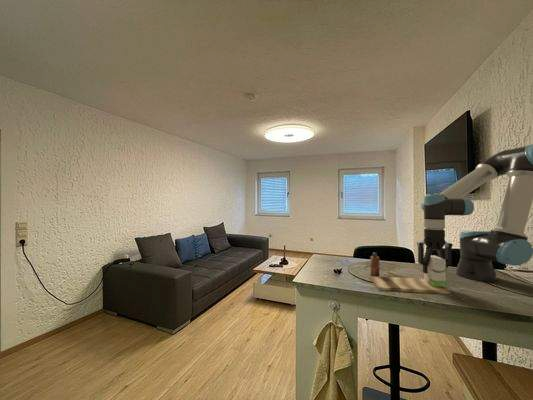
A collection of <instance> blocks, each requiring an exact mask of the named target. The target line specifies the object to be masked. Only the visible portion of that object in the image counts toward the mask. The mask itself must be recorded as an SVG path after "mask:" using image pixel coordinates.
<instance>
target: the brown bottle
mask: <svg viewBox="0 0 533 400" xmlns="http://www.w3.org/2000/svg"><path fill="white" fill-rule="evenodd" d="M370 276H376V277H380V257H379V256H378V254H377V252H372V255H370Z"/></svg>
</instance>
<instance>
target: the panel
mask: <svg viewBox="0 0 533 400" xmlns="http://www.w3.org/2000/svg"><path fill="white" fill-rule="evenodd" d="M368 279H369V281H370V282H372V284H373V286H375V288H376V289H377V290H378V291H390V292H392V291H393V292H409V293H410V292H413V293H427V294H428V293H429V294H446V295H447V294H448V295H451V290H450V289H448V288H446V287H440V286H433V285H431V284H430V283H428V282H427V281H425V280H424V278H418V277H417V278H415V277H413V278H412V277H394V276H393V277H392V276H379V277H376V276H371V275H369V276H368Z"/></svg>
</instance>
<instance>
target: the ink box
mask: <svg viewBox="0 0 533 400" xmlns="http://www.w3.org/2000/svg"><path fill="white" fill-rule="evenodd" d="M424 256H425V254H424ZM428 266H429V267H430V282H429V281H427V280H425V273H424V272H423V279H424V280H425V281H427V282H428V283H430V284H431V285H433V286H440V287H445V288H446V287H447V268H446V260H444V259H442V258H440V257H438V255H435V254H434V255H432V254H431V257H430V260H429V264H428Z"/></svg>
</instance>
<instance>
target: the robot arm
mask: <svg viewBox="0 0 533 400" xmlns="http://www.w3.org/2000/svg"><path fill="white" fill-rule="evenodd" d="M504 175H506V176H507V177H509V179H508V183H507V186H506V190H505V193H504V198H503V201H502V204H501V209H500V212H499V215H498V219H497V224H496V226H495V228H491V229H490V230H489V231H487V230H486V231H485V230H482V231H481V230H479V231H478V230H476V231H474V230H469V231H468V230H467V231H466V230H465V231H464V230H463V231H461V232H460V234H459V254H460V255H459V256H460V257H459V262H458V263H457V267H456V268H455V274H456V275H457V276H459V277H462V278H466V279H469V280H475V281H478V282H479V281H480V282H496V281H497V278H498V276H497V274H496V271H495V268H494V265H493V264H492V261H493V262H497V263H500V264H504V265H509V266H514V267H516V266H521V265H524V264H526V263H528V262H529V261H530V260H531V259H532V257H533V245H532V243H530V241H528V239H529V237H528V236H527V235H526V233H525V230H526V226H527V222H528V219H529V215H530V211H531V208H532V204H533V144H528V145H525V146H519V147H515V148H510V149H505V150H502V151H499V152H497V153H495V154H493V155H492V156H490V157H488V158H487V159H485V160H483V161H482V162H480V163H479V164H477V165H476V166H475V169H474V170H472V171H471V172H469V173H468V174H466V175H465V176H463V177H461V178H460V179H459V180H458V181H456V182H454V183H453V184H452V185H450V186H449V187H447V188H446V189H444V190H442V191H441V192H440V193H439V194H437V193H436V194H435V193H433V194H425V195H424V197H423V198H424V199H423V200H422V201H421V205H420V206H421V207H420V208H421V209H422V211H423V227H424V229H423V236H424V238H423V240H422V241H417V242H416V244H417V250H418V251H417V263H418V264H419V265H421V266H422V273H423V274H424V273H425V280H427V281H429V282H430V267H429V266H428V264H429V260H430V257H431V255H432V253H433V252H434V251H436V253H437V257H440V258H442V259H444V260H446V269H447V268H449V267H451V266H452V265H453V264H452V248H453V246H454V245H453V244H452V243H451V242H447V241H446V239H445V238H446V230H445V228H446V216H460V217H461V216H462V217H463V216H470V215H472V213H473V212H474V211H475V204H474V202H473V201H472V200H471V199H468V198H464V197H465V196H467V195H468V194H470V193H471V192H473V191H474V190H476V189H478V188H479V187H481V186H482V185H483V184H486V182H488V181H494V180H495V179H497V178H498V177H500V176H504ZM425 246H426V247H425ZM424 247H425V248H424ZM443 247H444V248H443ZM424 255H425V256H424Z"/></svg>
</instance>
